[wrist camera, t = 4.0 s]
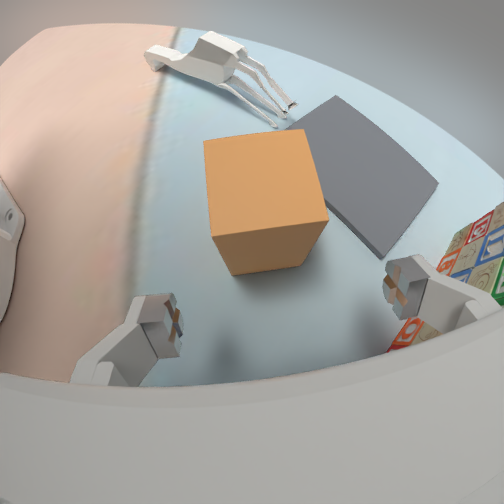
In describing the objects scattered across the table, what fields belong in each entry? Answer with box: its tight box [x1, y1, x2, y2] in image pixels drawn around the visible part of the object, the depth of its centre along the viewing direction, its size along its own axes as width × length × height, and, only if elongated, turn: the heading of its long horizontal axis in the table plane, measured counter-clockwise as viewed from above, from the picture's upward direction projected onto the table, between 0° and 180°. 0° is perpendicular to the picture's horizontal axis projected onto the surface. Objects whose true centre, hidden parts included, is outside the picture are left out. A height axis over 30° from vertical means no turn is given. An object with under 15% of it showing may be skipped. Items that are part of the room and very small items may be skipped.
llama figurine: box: [144, 31, 298, 128], centre depth 23 cm, size 2×11×18 cm
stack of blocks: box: [386, 202, 504, 353], centre depth 13 cm, size 21×6×12 cm, turn 138°
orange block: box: [203, 129, 329, 276], centre depth 17 cm, size 5×5×9 cm
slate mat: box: [285, 95, 439, 259], centre depth 22 cm, size 13×10×1 cm
